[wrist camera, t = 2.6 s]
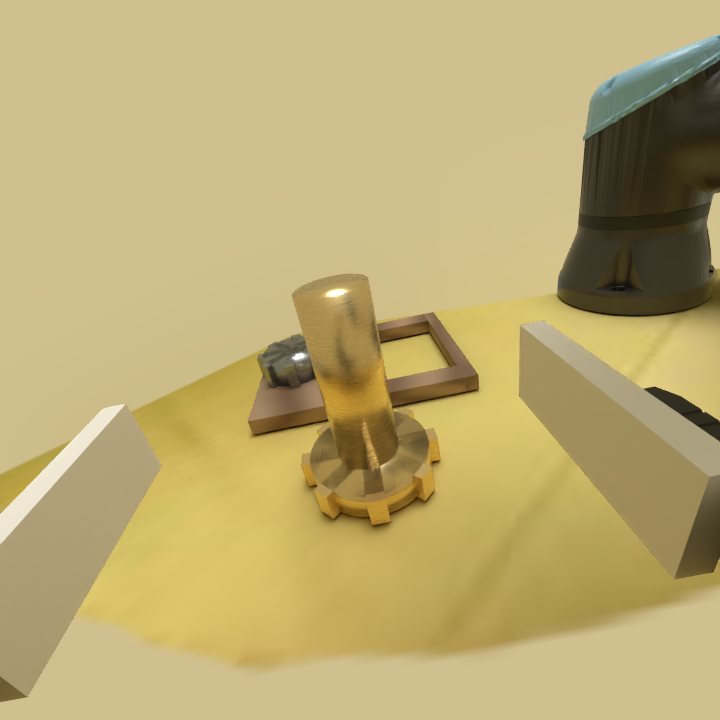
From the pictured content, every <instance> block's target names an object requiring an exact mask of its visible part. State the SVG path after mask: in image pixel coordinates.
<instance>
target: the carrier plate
mask: <svg viewBox="0 0 720 720" xmlns="http://www.w3.org/2000/svg"><path fill="white" fill-rule="evenodd" d="M377 329H378V334H379V339H380V342H382V341H387V340H391V339H396V338H401V337H406V336H411V335H416V334H420V333H425V332H430V333H431V335H432V337H433V338H434V340H435V342H436V343H437V345H438V347H439V348H440V350H441V351H442V353H443V355H444V356H445V358H446V360H447V361H448V363H449V365H450V366H451V367H448V368H443V369H438V370H433V371H428V372H424V373H419V374H414V375H409V376H404V377H399V378H394V379H389V380H387V382H388V387H389V393H390V398H391V404H392V406H396V405H401V404H406V403H411V402H416V401H421V400H425V399H430V398H435V397H440V396H445V395H450V394H455V393H460V392H465V391H470V390H475V389H479V380H478V374H477V372H476V371H475V369H474V368H473V367H472V365H471V364H470V362H469V361H468V360H467V358H466V357H465V356H464V354H463V353H462V351H461V350H460V349H459V347H458V346H457V344H456V343H455V342H454V340H453V339H452V338H451V336H450V335H449V333H448V332H447V331H446V329H445V328H444V326H443V325H442V324H441V322H440V321H439V320H438V318H437V317H436V315H435V314H434V313H433V312H432V313H428V314H423V315H418V316H413V317H408V318H404V319H399V320H394V321H389V322H385V323H380V324H377ZM327 419H328V417H327V414H326V410H325V407H324V404H323V400H322V397H321V393H320V390H319V387H318V383H317V380H316V378H315V379H313V380H311V381H309V382H306V383H303V384H301V387H298V388H293V389H291V387H290V386H278V387H276V388H272V387H269V386H268V383H267V380H266V379H264V376H263V377H262V380H261V383H260V386H259V389H258V392H257V395H256V398H255V401H254V404H253V408H252V411H251V414H250V417H249V420H248V423H249V425H250V428H251V430H252V432H253V434H258V433H263V432H268V431H273V430H278V429H283V428H288V427H292V426H297V425H302V424H307V423H312V422H317V421H322V420H327Z"/></svg>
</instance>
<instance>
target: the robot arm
mask: <svg viewBox="0 0 720 720" xmlns="http://www.w3.org/2000/svg"><path fill="white" fill-rule="evenodd" d="M584 140H585V148H584V162H583V174H582V188H581V198H580V209H579V221H578V230H577V234H576V236H575V239H574V241H573V243H572V246H571V248H570V250H569V252H568V255H567V257H566V260H565V263H564V265H563V268H562V270H561V272H560V274H559V277H558V290H557V293H558V296H559V297H560V298H561V299H562V300H563V301H564V302H566V303H568V304H570V305H572V306H575V307H578V308H582V309H585V310H590V311H595V312H601V313H609V314H622V315H648V314H661V313H669V312H675V311H680V310H685V309H689V308H692V307H695V306H697V305H699V304H702V303H703V302H705V301H706V300H707V299H709V297H710V295H711V292H712V288H713V285H714V281H715V269H714V267H713V266H712V265H711V248H710V241H709V235H708V229H707V219H708V214H709V210H710V206H711V201H712V197H713V195H714V194H715V193H719V192H720V34H719V35H716V36H713V37H709V38H707V39H704V40H701V41H698V42H696V43H693V44H690V45H688V46H685V47H682V48H680V49H677V50H675V51H672V52H669V53H667V54H664V55H662V56H660V57H657V58H655V59H652V60H650V61H647V62H645V63H642V64H640V65H638V66H635V67H633V68H631V69H628V70H626V71H624V72H622V73H620V74H618V75H616V76H613V77H612V78H610V79H609V80H607V81H605V82H604V83H603V84H602V85H600V86H599V87H598V89H597V90H596V91H595V92H594V94H593V96H592V98H591V101H590V105H589V112H588V119H587V126H586V133H585V135H584V137H583V141H584ZM519 397H520V398H521V399H522V400H523V401H524V402H525V404H526V405H527V406H528V407H529V408H530V410H531V411H532V412H533V413H534V414H535V415H536V417H537V418H538V419H539V420H540V421H541V423H542V424H543V425H544V426H545V427H546V428H547V430H548V431H549V432H550V433H551V434H552V436H553V437H554V438H555V439H556V440H557V442H558V443H559V444H560V445H561V446H562V447H563V449H564V450H565V451H566V452H567V453H568V455H569V456H570V457H571V458H572V459H573V460H574V462H575V463H576V464H577V465H578V466H579V468H580V469H581V470H582V471H583V472H584V473H585V475H586V476H587V477H588V478H589V479H590V481H591V482H592V483H593V484H594V485H595V486H596V488H597V489H598V490H599V491H600V492H601V494H602V495H603V496H604V497H605V498H606V499H607V501H608V502H609V503H610V504H611V505H612V507H613V508H614V509H615V510H616V511H617V512H618V514H619V515H620V516H621V517H622V518H623V520H624V521H625V522H626V523H627V524H628V525H629V527H630V528H631V529H632V530H633V531H634V533H635V534H636V535H637V536H638V537H639V538H640V540H641V541H642V542H643V543H644V544H645V546H646V547H647V548H648V549H649V550H650V551H651V553H652V554H653V555H654V556H655V557H656V559H657V560H658V561H659V562H660V563H661V564H662V566H663V567H664V568H665V569H666V570H667V572H668V573H669V574H670V575H671V576H672V577H673V579H678V578H684V577H689V576H695V575H700V574H706V573H711V572H714V570H715V567H716V565H717V562H718V560H719V558H720V422H719V420H717V419H716V418H714V417H712V416H711V415H709V414H708V413H706V412H705V413H703V412H702V410H701V409H700V408H698V407H697V406H695V405H694V404H692V403H690V402H689V401H687V400H686V399H684V398H683V397H681V396H678V395H676V394H673V393H670V392H668V391H665V390H662V389H660V388H657V387H650V388H645V389H643V388H641V387H640V386H638V385H637V384H635V383H634V382H632V381H631V380H629V379H628V378H627V377H625V376H624V375H622V374H621V373H619V372H618V371H616V370H615V369H613V368H612V367H611V366H609V365H608V364H606V363H605V362H603V361H602V360H600V359H599V358H598V357H596V356H595V355H593V354H592V353H590V352H589V351H587V350H586V349H584V348H583V347H582V346H580V345H579V344H577V343H576V342H574V341H573V340H571V339H570V338H568V337H567V336H566V335H564V334H563V333H561V332H560V331H558V330H557V329H555V328H554V327H553V326H551V325H550V324H548V323H547V322H545V321H544V320H543V321H538V322H533V323H528V324H523V325H520V363H519ZM161 466H162V465H161V463H160V461H159V460H158V458H157V456H156V454H155V453H154V451H153V449H152V448H151V446H150V444H149V442H148V441H147V439H146V437H145V436H144V434H143V432H142V430H141V429H140V427H139V425H138V424H137V422H136V420H135V418H134V417H133V415H132V413H131V412H130V410H129V408H128V406H127V405H126V404H122V405H118V406H113V407H107V408H103V409H102V410H101V411H100V412H99V413H98V414H97V416H96V417H95V418H94V419H93V420H92V421H91V422H90V423H89V424H88V425H87V426H86V427H85V428H84V429H83V430H82V431H81V432H80V433H79V434H78V435H77V436H76V437H75V438H74V439H73V440H72V441H71V442H70V443H69V444H68V445H67V446H66V447H65V448H64V449H63V450H62V452H61V453H60V454H59V455H58V456H57V457H56V458H55V459H54V460H53V461H52V462H51V463H50V464H49V465H48V466H47V467H46V468H45V469H44V470H43V471H42V472H41V473H40V474H39V475H38V476H37V477H36V478H35V479H34V480H33V481H32V482H31V483H30V484H29V485H28V486H27V488H26V489H25V490H24V491H23V492H22V493H21V494H20V495H19V496H18V497H17V498H16V499H15V500H14V501H13V502H12V503H11V504H10V505H9V506H8V507H7V508H6V509H5V510H4V511H3V512H2V513H1V514H0V702H3V701H8V700H14V699H19V698H25V697H28V695H29V693H30V692H31V690H32V689H33V687H34V685H35V683H36V682H37V680H38V678H39V676H40V675H41V673H42V671H43V670H44V668H45V666H46V664H47V663H48V661H49V659H50V658H51V656H52V654H53V652H54V651H55V649H56V647H57V645H58V644H59V642H60V640H61V638H62V637H63V635H64V633H65V632H66V630H67V628H68V627H69V625H70V623H71V621H72V620H73V618H74V616H75V615H76V613H77V611H78V609H79V608H80V606H81V604H82V602H83V601H84V599H85V597H86V596H87V594H88V592H89V590H90V589H91V587H92V585H93V584H94V582H95V580H96V578H97V577H98V575H99V573H100V571H101V570H102V568H103V566H104V565H105V563H106V561H107V559H108V558H109V556H110V554H111V553H112V551H113V549H114V547H115V546H116V544H117V542H118V540H119V539H120V537H121V535H122V534H123V532H124V530H125V528H126V527H127V525H128V523H129V522H130V520H131V518H132V516H133V515H134V513H135V511H136V509H137V508H138V506H139V504H140V503H141V501H142V499H143V497H144V496H145V494H146V492H147V491H148V489H149V487H150V485H151V484H152V482H153V480H154V478H155V477H156V475H157V473H158V472H159V470H160V468H161Z"/></svg>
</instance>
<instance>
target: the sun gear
mask: <svg viewBox="0 0 720 720" xmlns="http://www.w3.org/2000/svg"><path fill="white" fill-rule="evenodd" d="M268 347H269V348H268V349H267V350H266V351H265V352H264V354H259V355H258V357H257V360H258V363H259V366H260V368H261V371H262V374H263V376H264V379H266V380H267V383H268V386H269V387H272V388H276V387H278V386H290V387H291V389H293V388H298V387H301V384H303V383H306V382H309V381H311V380H313V379H315V378H316V376H315V373H314V370H313V366H312V363H311V359H310V356H309V352H308V349H307V346H306V342H305V339H304V336H300V334H298V335H293V336H291V338H289V339H286V340H283V341H280V342H278V343H277V342H274V343H272V344H270V345H269V346H268Z"/></svg>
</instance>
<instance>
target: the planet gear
mask: <svg viewBox="0 0 720 720" xmlns="http://www.w3.org/2000/svg"><path fill="white" fill-rule="evenodd" d="M292 298H293V301H294V305H295V308H296V312H297V315H298V318H299V322H300V325H301V329H302V332H303V335H304V339H305V342H306V346H307V349H308V352H309V356H310V359H311V363H312V366H313V370H314V373H315V376H316V380H317V383H318V387H319V390H320V393H321V397H322V400H323V404H324V407H325V410H326V414H327V417H328V421H329V423H328V422H327V423H326V424H324V425H323V426H322V427H321V428H320V429H318V430H317V433H318V436H319V438H318V439H317V441H316V442H315V444H314V446H313V448H312V451H311V453H307V454H302V463H301V467H302V470H303V472H304V475H305V478H306V481H307V483H308V486H311V485H317V487H316V488H315V489H314V492H315V495H316V498H317V500H318V503H319V506H320V509H321V511H322V512H324V513H325V514H327V515H328V516H330V517H331V518H333V519H334V518H335V517H336V516H337V515H338V514H339V513H340V512H342V513H345V514H348V515H352V516H359V517H370V520H371V524H372V525H376V524H381V523H386V522H391V520H390V514H389V513H391V512H393V511H396V510H398V509H400V508H402V507H404V506H406V505H407V504H409V503H410V502H412V501H413V500H414V499H415V498H416V497H418V498H420V499H422V500H424V501H426V500H427V498H428V497H429V496H430V495H431V493H432V492H433V491H434V489H435V484H434V477H433V469H432V461H437V460H440V453H439V445H438V438H437V436H436V433H435V431H434V428H431V429H426V430H425V429H424V428H423V427H422V425H421V424H420V423H419V422H417V421H416V420H415V419H414V414H413V411H411V410H408V409H405V408H402V407H400V408H399V409H398V410H397V411H396V412H395V411H393V409H392V404H391V398H390V393H389V387H388V382H387V377H386V371H385V366H384V361H383V355H382V350H381V345H380V339H379V334H378V329H377V323H376V318H375V313H374V307H373V302H372V297H371V292H370V286H369V280H368V277H366V276H364V275H361V274H343V275H336V276H330V277H326V278H322V279H319V280H316V281H313V282H310V283H308V284H305V285H303V286H301V287H300V288H298V289H297V290H295V292H293V294H292Z"/></svg>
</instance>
